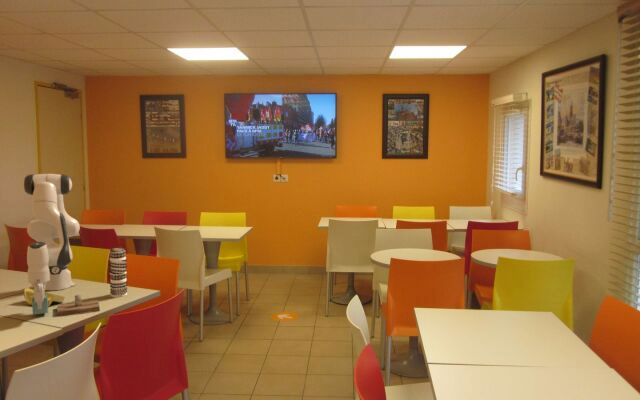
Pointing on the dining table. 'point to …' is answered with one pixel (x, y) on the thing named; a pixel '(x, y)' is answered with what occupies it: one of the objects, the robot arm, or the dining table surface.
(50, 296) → the plastic component
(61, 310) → the stub plate
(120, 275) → the brown white cylinder
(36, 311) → the housing cap
